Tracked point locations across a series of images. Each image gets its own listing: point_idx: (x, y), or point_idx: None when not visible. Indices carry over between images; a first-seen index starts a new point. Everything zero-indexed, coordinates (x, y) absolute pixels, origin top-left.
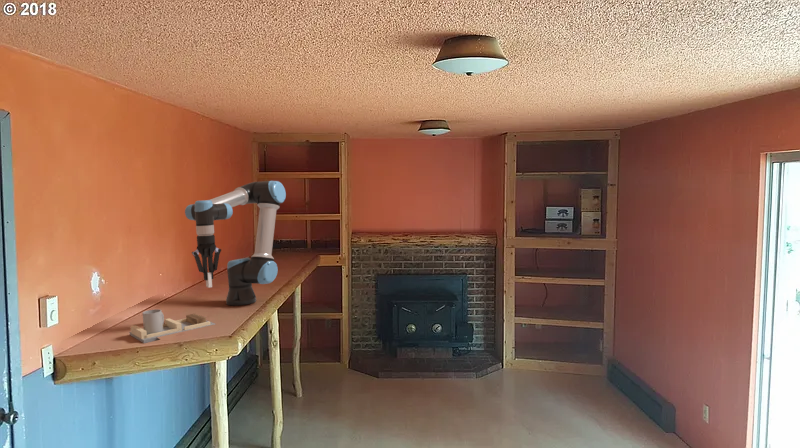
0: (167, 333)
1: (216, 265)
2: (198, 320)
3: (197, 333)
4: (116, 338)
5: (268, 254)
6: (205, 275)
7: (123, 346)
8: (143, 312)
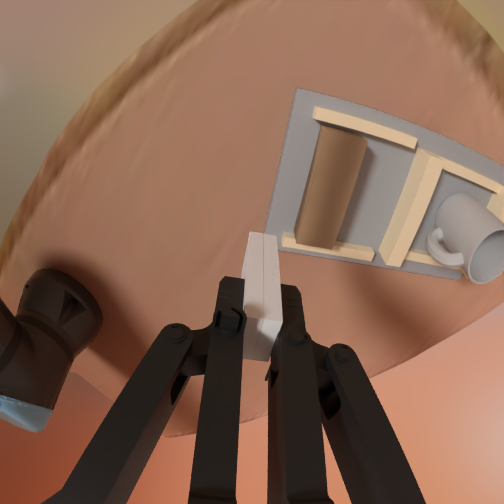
0: (456, 162)
1: (155, 368)
2: (360, 137)
3: (395, 81)
4: None
5: None
6: (298, 318)
7: None
8: (498, 273)
